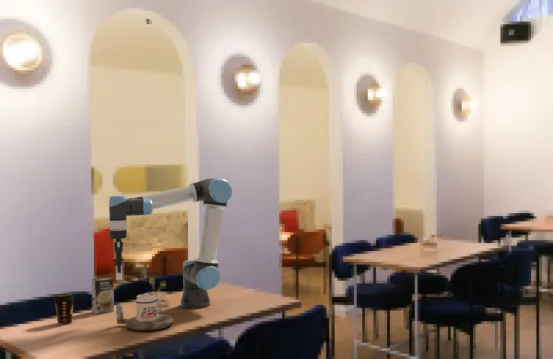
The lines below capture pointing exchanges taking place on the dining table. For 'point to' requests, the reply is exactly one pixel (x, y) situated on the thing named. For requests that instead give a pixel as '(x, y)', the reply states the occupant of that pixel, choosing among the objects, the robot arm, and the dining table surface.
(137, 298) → the mug
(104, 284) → the coffee box
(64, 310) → the coffee cup
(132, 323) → the turntable
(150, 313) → the teacup with lid
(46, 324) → the dining table surface
